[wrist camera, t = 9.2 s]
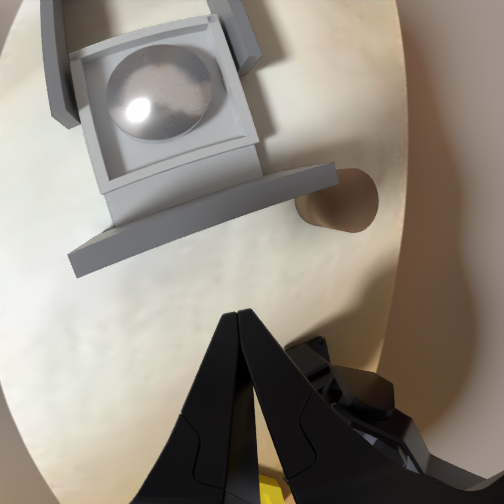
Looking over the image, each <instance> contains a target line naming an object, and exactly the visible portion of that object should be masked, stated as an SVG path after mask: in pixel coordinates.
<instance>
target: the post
mask: <svg viewBox="0 0 504 504" xmlns="http://www.w3.org/2000/svg"><path fill="white" fill-rule="evenodd" d="M336 172H337V176H338V180H339V184H337V185H333V186H330V187H327V188H324V189H321V190H318V191H315V192H312V193H309V194H305V195H302V196H299V197H296V198H295V205H296V209H297V211H298V213H299V215H300V216H301V218H302V219H303V220H304V221H306V222H307V223H309V224H311V225H315V226H320V227H325V228H330V229H335V230H340V231H345V232H350V233H356V232H360V231H363V230H365V229H366V228H367V227H368V226H369V225H370V224H371V223H372V222H373V220H374V218H375V216H376V213H377V210H378V201H379V200H378V192H377V188H376V186H375V184H374V182H373V180H372V179H371V178H370V176H369V175H367V174H366V173H365V172H363V171H361V170H359V169H342V170H336Z"/></svg>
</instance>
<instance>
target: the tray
mask: <svg viewBox="0 0 504 504" xmlns="http://www.w3.org/2000/svg"><path fill="white" fill-rule="evenodd" d="M159 44H168V45H175V46H179V47H182V48H184V49H187V50H189V51H190V52H192V53H194V54H195V55H196V56H197V57H198V58H200V59H201V60H202V62H203V63H204V64H205V66H206V68H207V69H208V71H209V74H210V77H211V81H212V95H211V100H210V103H209V106H208V108H207V110H206V112H205V113H204V115H203V117H202V118H201V120H200V121H199V123H198V124H197V125H196V126H195V127H194V128H193V129H192V130H191V131H190V132H188V133H187V134H185V135H184V136H182V137H180V138H178V139H176V140H173V141H170V142H166V143H160V144H149V143H143V142H139V141H136V140H134V139H132V138H130V137H128V136H127V135H125V134H124V133H123V132H122V131H121V130H120V129H119V128H118V127H117V125H116V124H115V122H114V121H113V119H112V117H111V115H110V113H109V111H108V107H107V103H106V89H107V84H108V81H109V79H110V76H111V74H112V73H113V71H114V69H115V68H116V67H117V65H118V64H119V63H120V62H121V61H122V60H123V59H124V58H126V57H127V56H128V55H130V54H131V53H133V52H135V51H137V50H139V49H141V48H144V47H147V46H152V45H159ZM68 56H69V62H70V69H71V75H72V81H73V86H74V92H75V97H76V102H77V107H78V111H79V116H80V120H81V125H82V129H83V133H84V137H85V141H86V145H87V149H88V153H89V156H90V160H91V164H92V167H93V171H94V174H95V178H96V181H97V184H98V187H99V191H100V194H101V195H104V197H105V200H106V203H107V206H108V209H109V212H110V215H111V218H112V221H113V223H114V226H115V228H113V229H110V230H108V231H105V232H103V233H100V234H98V235H97V236H95V237H93V238H92V239H90V240H89V241H87V242H86V243H84V244H83V245H81V246H80V247H78V248H77V249H75V250H74V251H72V252H71V253H69V254H68V257H69V260H70V263H71V265H72V268H73V270H74V272H75V275H76V277H77V278H80V277H82V276H84V275H87V274H89V273H92V272H94V271H97V270H99V269H102V268H104V267H107V266H109V265H112V264H114V263H117V262H119V261H122V260H124V259H127V258H129V257H132V256H135V255H137V254H140V253H142V252H145V251H148V250H150V249H153V248H155V247H158V246H161V245H163V244H166V243H169V242H171V241H174V240H177V239H179V238H182V237H185V236H187V235H190V234H193V233H196V232H198V231H201V230H204V229H207V228H209V227H212V226H215V225H218V224H221V223H223V222H226V221H229V220H232V219H235V218H238V217H240V216H243V215H246V214H249V213H252V212H255V211H258V210H261V209H264V208H266V207H269V206H272V205H275V204H278V203H281V202H284V201H287V200H290V199H293V198H296V197H299V196H302V195H305V194H309V193H312V192H315V191H318V190H321V189H324V188H327V187H330V186H333V185H337V184H339V180H338V176H337V172H336V169H335V165H334V162H330V163H324V164H318V165H312V166H306V167H300V168H295V169H289V170H284V171H278V172H274V173H271V174H268V175H263V172H262V169H261V165H260V162H259V159H258V155H257V152H256V149H255V146H254V144H256V143H258V142H260V141H259V138H258V135H257V132H256V129H255V125H254V122H253V119H252V116H251V113H250V110H249V107H248V104H247V101H246V98H245V94H244V91H243V88H242V85H241V82H240V79H239V76H238V73H237V71H236V68H235V65H234V62H233V59H232V56H231V53H230V50H229V47H228V44H227V42H226V39H225V36H224V33H223V30H222V28H221V25H220V22H219V19H218V17H217V14H212V15H205V16H199V17H193V18H187V19H182V20H177V21H172V22H168V23H163V24H159V25H155V26H151V27H147V28H143V29H139V30H136V31H132V32H129V33H125V34H122V35H119V36H116V37H113V38H110V39H107V40H104V41H101V42H98V43H95V44H93V45H90V46H87V47H85V48H82V49H80V50H77V51H75V52H72V53H70V54H68Z"/></svg>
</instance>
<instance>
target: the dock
mask: <svg viewBox="0 0 504 504" xmlns="http://www.w3.org/2000/svg"><path fill="white" fill-rule="evenodd" d="M207 3H208V6H209V9H210V11H211V14H217V17H218V19H219V22H220V25H221V28H222V30H223V33H224V36H225V39H226V42H227V44H228V47H229V50H230V53H231V56H232V59H233V62H234V65H235V68H236V71H237V73H238V76H239V77H240V76H245V75H246V74H247V73H248V72H249V71H250V69H251V68H252V67H253V66H254V65H255V63H256V62H257V61H258V60H259V59H260V57H261V56H262V52H261V50H260V47H259V44H258V42H257V39H256V36H255V34H254V31H253V29H252V26H251V24H250V21H249V18H248V16H247V13H246V11H245V9H244V6H243V4H242V1H241V0H207ZM40 14H41V37H42V51H43V61H44V70H45V78H46V85H47V92H48V99H49V105H50V110H51V116H52V117H53V118H54V119H56V120H57V121H58V122H60V123H61V124H62V125H63V126H65V127H66V128H67V129H70V128H73V127H75V126H77V125H79V124H80V120H79V116H78V111H77V107H76V102H75V97H74V92H73V86H72V81H71V75H70V69H69V62H68V55H67V48H66V40H65V31H64V20H63V8H62V0H40Z"/></svg>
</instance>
